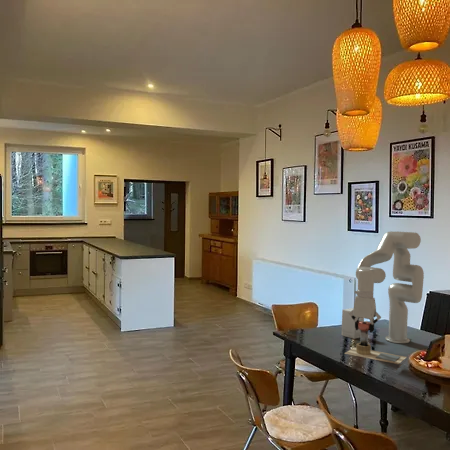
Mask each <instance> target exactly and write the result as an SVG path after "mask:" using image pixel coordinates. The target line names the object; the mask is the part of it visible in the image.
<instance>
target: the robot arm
mask: <svg viewBox="0 0 450 450" xmlns="http://www.w3.org/2000/svg"><path fill="white" fill-rule="evenodd" d="M421 242H422V240H421V236H420V234H419V233H418V232H412V231H409V232H408V231H391V230H390V231H387V232H385V233H384V234H383V236H382V238H381V239H380V242H379V243H378V246H377V247H376V249H375V250H374V251H372V252H371V253H369V254H367V255H365V256H364V257H362V259H361V260H360V262H359V264H358V266H356V267H357V268H356V270H355V278H356V279H357V289H356V290H354V294H356V296H355V298H354V302H353V308H354V309H353V310H352V311H351V312H350V313H349V314H350V316H351V317H352V319H353V320H354V322H355V328H356V330H358V322H359V318H364V320H365V319H367V320H369V322H370V323H371V324H370V330H369V333H374V331H375V324H376V323H377V322H379V320H380V319H381V318H382V316H381V315H380V314H379V313H378V312H377V305H376V298H375V297H374V290H375V289H374V285H375V284H381V283H382V282H384V281H385V279H386V277H387V276H386V271H385V270H384V269H382V268H381V267H380V268H379V267H374V266H375V265H378V264H382V263H386V262H388V261H390V260H391V259H392V257H393V266H392V277H393V279H394V280H396V281H400V282H401V283H400V282H394V283H391V284H390V285H389V286H388V291H387V292H388V301H389V312H388V314H389V315H388V320H389V321H388V335H386V336H385V341H387V342H389V343H395V344H409V343H410V341H411V339H410V338H408V317H409V316H408V315H409V313H408V312H409V310H408V309H409V308H408V307H407V304H406V303H412V304H418V303H420V302H421V301H422V297H423V288H424V278H425V277H424V276H425V275H424V274H425V273H424V272H425V271H424V269H423V267H422V266H421V265H418V264H411V253H410V251H409V249H410V250H411V249H413V250H414V249H418V248H419V247H420V245H421ZM403 282H408V283H409V284H407V283H403ZM410 283H411V284H410Z"/></svg>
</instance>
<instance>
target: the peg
mask: <svg viewBox="0 0 450 450" xmlns="http://www.w3.org/2000/svg"><path fill="white" fill-rule="evenodd" d="M370 324H371V322H370V321H367V320H366V321H365V320H364V321H359V322H358V329H359V330H361V334H360V339H359V343H360V345H361V346H368V344H369V332H370Z"/></svg>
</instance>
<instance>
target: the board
mask: <svg viewBox="0 0 450 450" xmlns="http://www.w3.org/2000/svg"><path fill="white" fill-rule="evenodd" d="M344 354H345V355H350V356H355V357H361V358H365V359H370V360H373V361H374V360H376V361H380V362H384V363H385V362H386V363H391V364H395V365H399V366H398V368H400V367H401V366H402V365H403V364H404V362H403V361H405V359H406V360H407V357H408V356H404V355H397V354H393V353H388V352H382V351H377V350H372V346H371V344H370V343H368V346H361V345H360V342H358V343H356V346H354V347H353V348H351V349H349V350H348V351H346V352H344Z"/></svg>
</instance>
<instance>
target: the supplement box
mask: <svg viewBox="0 0 450 450" xmlns="http://www.w3.org/2000/svg"><path fill="white" fill-rule="evenodd" d="M353 309H354V307H350V308H344V309H342V315H341V336H343V337H346V338H350V339H354V340H355V339H359V338H360V334H361V330H359V329H358V330H356V328H355V322H354V320H353V319H352V317H351V316H350V314H349V313H350V312H351V311H352V310H353ZM359 321H365V318H359Z"/></svg>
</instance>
